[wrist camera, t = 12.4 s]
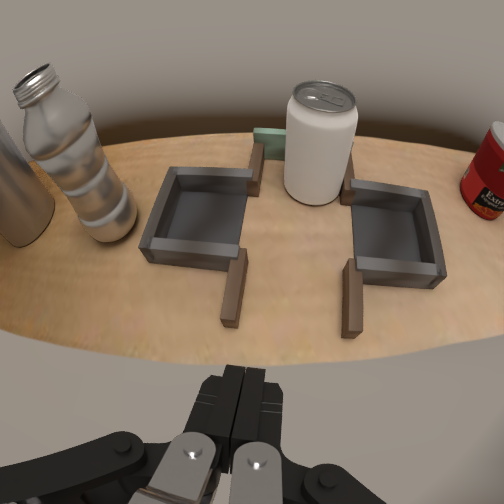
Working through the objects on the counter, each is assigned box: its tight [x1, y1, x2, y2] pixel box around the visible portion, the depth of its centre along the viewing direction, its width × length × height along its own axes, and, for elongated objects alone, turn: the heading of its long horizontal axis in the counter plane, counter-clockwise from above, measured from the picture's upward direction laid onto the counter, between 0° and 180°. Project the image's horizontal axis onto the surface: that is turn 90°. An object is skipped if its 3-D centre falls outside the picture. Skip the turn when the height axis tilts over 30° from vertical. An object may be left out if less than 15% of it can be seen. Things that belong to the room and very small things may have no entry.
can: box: [284, 80, 358, 205], centre depth 27 cm, size 6×6×12 cm
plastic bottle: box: [13, 63, 137, 242], centre depth 23 cm, size 6×7×20 cm
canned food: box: [460, 121, 504, 220], centre depth 27 cm, size 8×8×11 cm
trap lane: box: [138, 128, 447, 339], centre depth 28 cm, size 29×22×4 cm
